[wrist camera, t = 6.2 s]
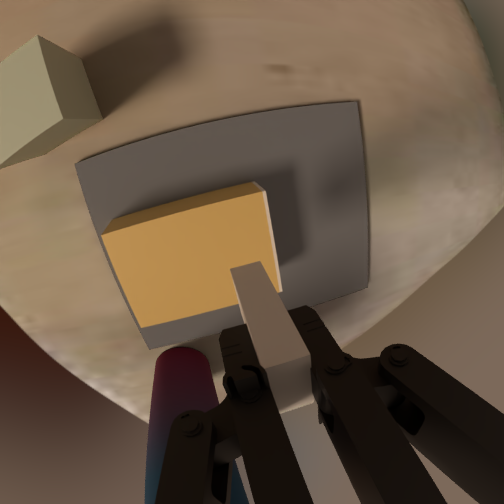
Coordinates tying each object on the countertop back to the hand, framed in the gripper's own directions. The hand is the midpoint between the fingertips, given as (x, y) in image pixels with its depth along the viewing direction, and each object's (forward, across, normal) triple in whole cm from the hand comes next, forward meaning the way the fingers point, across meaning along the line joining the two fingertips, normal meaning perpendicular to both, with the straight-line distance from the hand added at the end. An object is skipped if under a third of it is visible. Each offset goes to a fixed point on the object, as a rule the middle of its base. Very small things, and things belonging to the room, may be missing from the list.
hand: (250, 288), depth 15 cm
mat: (+8, +1, 0) cm, 8 cm away
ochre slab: (+6, +2, 0) cm, 6 cm away
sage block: (+8, -9, +12) cm, 17 cm away
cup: (+8, -7, -11) cm, 16 cm away
